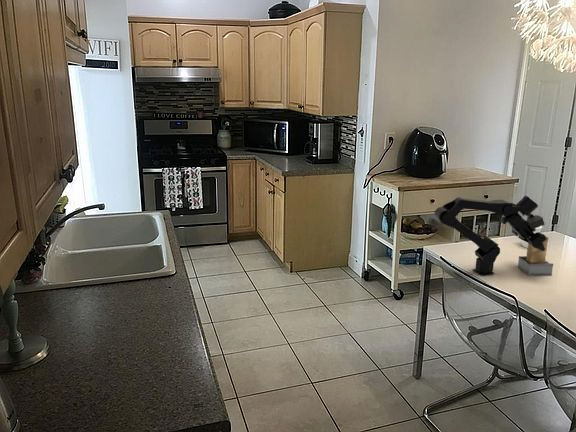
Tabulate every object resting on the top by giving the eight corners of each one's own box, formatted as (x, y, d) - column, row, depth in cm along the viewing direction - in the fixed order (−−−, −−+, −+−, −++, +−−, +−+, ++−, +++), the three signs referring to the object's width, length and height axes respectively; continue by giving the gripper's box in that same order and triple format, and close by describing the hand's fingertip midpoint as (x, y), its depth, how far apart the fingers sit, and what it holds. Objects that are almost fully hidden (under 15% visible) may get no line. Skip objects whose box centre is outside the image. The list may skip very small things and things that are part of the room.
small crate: (530, 264, 204) (534, 237, 201) (525, 259, 209) (529, 233, 206) (544, 264, 203) (548, 237, 200) (539, 259, 209) (542, 233, 206)
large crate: (528, 275, 203) (530, 264, 201) (517, 267, 212) (518, 256, 211) (551, 275, 203) (553, 264, 201) (539, 266, 212) (541, 255, 211)
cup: (543, 249, 233) (546, 228, 230) (522, 250, 233) (525, 228, 230) (533, 243, 243) (536, 222, 240) (514, 243, 243) (516, 222, 240)
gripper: (545, 216, 191) (568, 241, 194) (522, 204, 209) (543, 228, 212) (522, 235, 193) (546, 260, 196) (502, 222, 211) (523, 245, 214)
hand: (540, 247), depth 205 cm, fingers closed on small crate, 6 cm apart
